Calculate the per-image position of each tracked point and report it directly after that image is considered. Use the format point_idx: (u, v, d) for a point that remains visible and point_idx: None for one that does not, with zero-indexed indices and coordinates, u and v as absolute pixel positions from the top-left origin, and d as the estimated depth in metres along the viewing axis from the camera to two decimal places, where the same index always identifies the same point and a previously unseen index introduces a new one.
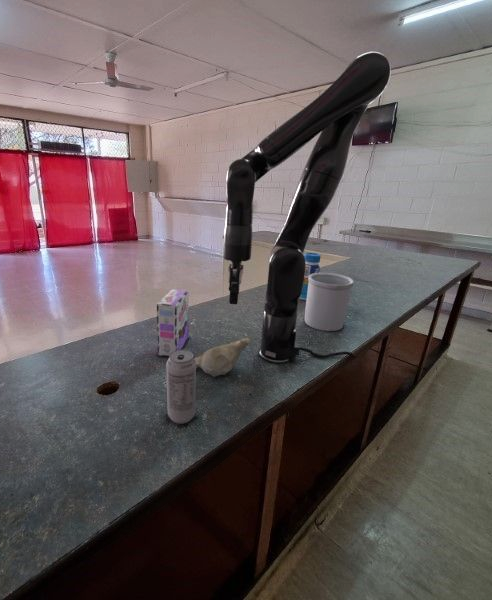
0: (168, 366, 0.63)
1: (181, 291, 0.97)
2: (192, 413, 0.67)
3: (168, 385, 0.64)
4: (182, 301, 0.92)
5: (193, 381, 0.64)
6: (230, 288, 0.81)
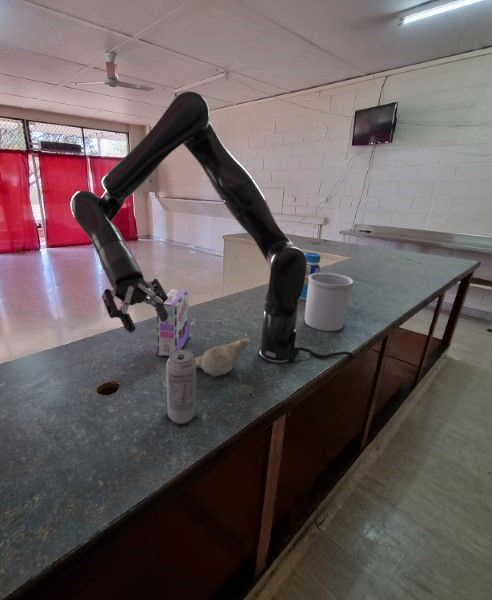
0: (168, 366, 0.63)
1: (181, 291, 0.97)
2: (192, 413, 0.67)
3: (168, 385, 0.64)
4: (182, 301, 0.92)
5: (193, 381, 0.64)
6: (109, 314, 0.67)
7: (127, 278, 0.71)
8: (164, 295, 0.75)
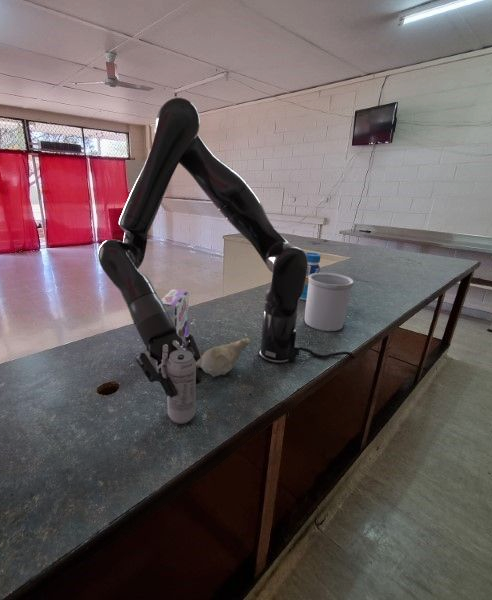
0: (168, 366, 0.63)
1: (181, 291, 0.97)
2: (192, 413, 0.67)
3: None
4: (182, 301, 0.92)
5: (193, 381, 0.64)
6: (149, 379, 0.63)
7: (161, 336, 0.66)
8: (197, 354, 0.69)
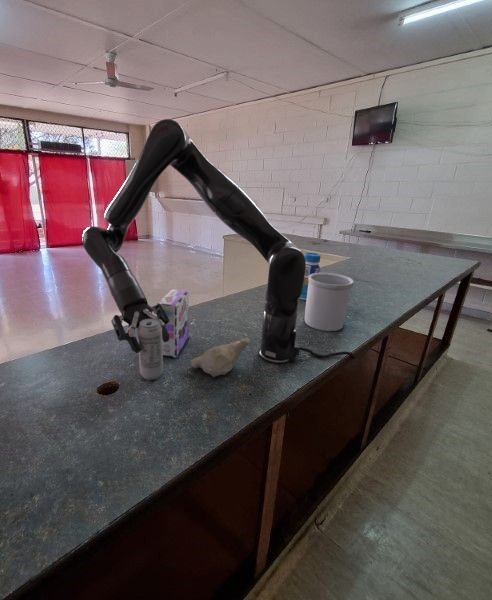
0: (138, 330, 0.77)
1: (181, 291, 0.97)
2: (159, 371, 0.81)
3: None
4: (182, 301, 0.92)
5: (159, 343, 0.79)
6: (118, 337, 0.77)
7: (133, 304, 0.80)
8: (166, 318, 0.84)
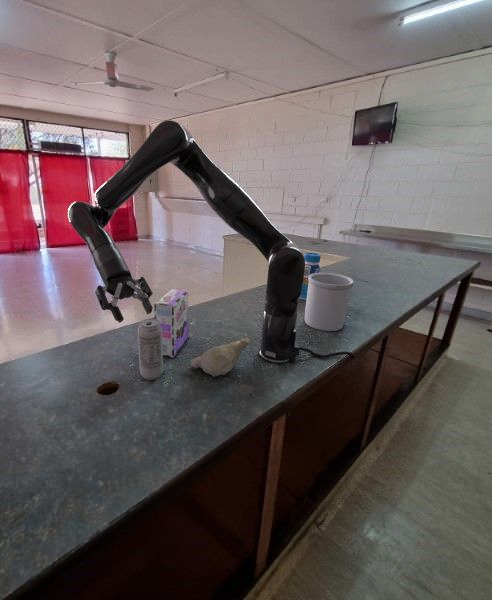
0: (138, 330, 0.77)
1: (181, 291, 0.97)
2: (159, 371, 0.81)
3: (139, 347, 0.79)
4: (180, 301, 0.92)
5: (159, 343, 0.79)
6: (101, 307, 0.79)
7: (117, 276, 0.83)
8: (149, 291, 0.87)
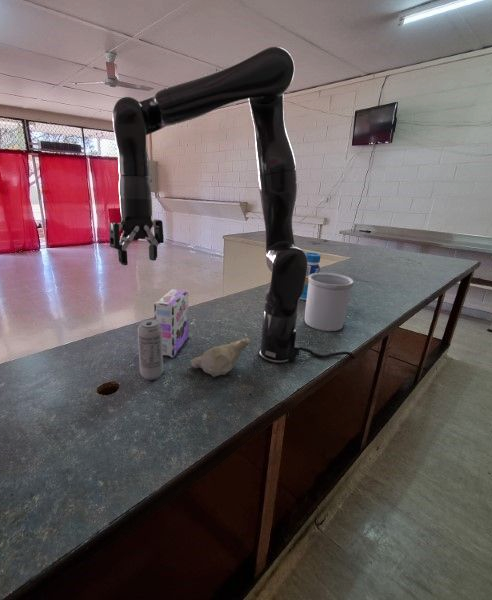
0: (138, 330, 0.77)
1: (181, 291, 0.97)
2: (159, 371, 0.81)
3: (139, 347, 0.79)
4: (180, 301, 0.92)
5: (159, 343, 0.79)
6: (110, 244, 0.76)
7: (137, 217, 0.76)
8: (161, 239, 0.83)
